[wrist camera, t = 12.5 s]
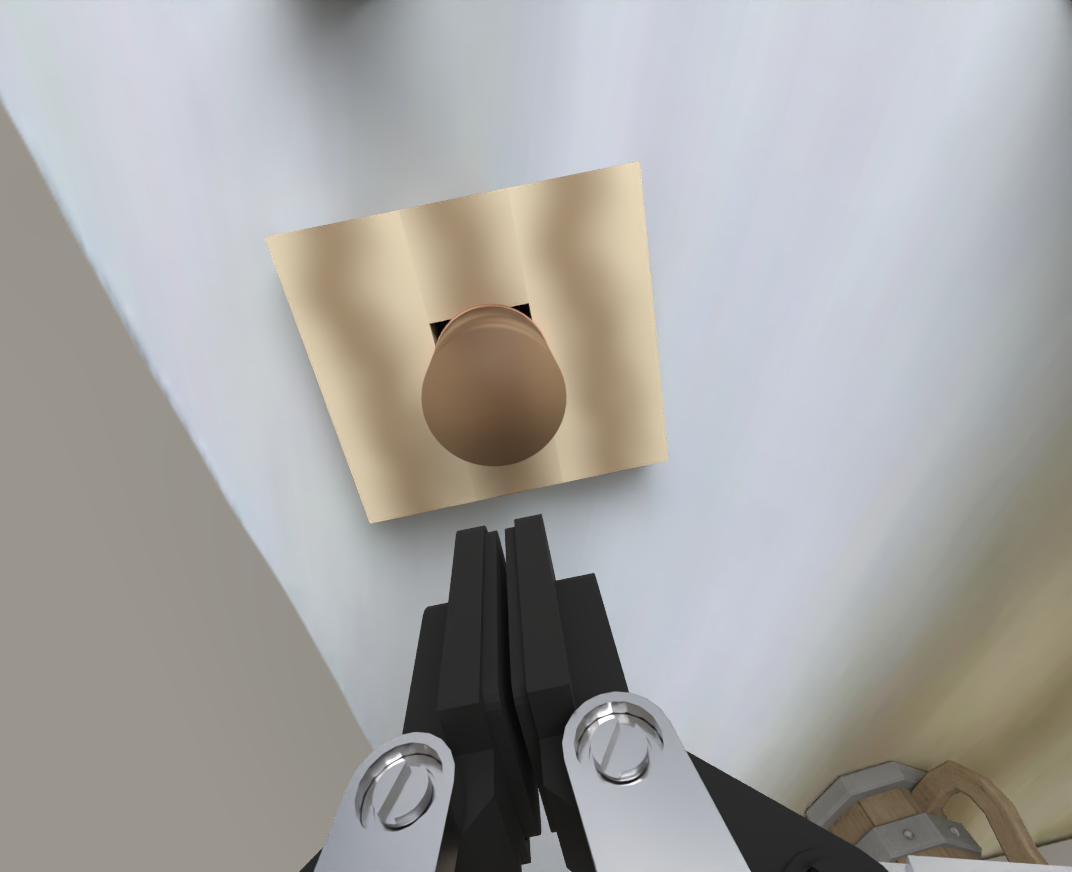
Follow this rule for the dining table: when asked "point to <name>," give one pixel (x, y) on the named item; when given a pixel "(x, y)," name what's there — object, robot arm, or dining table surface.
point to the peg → (493, 387)
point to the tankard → (918, 814)
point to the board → (470, 280)
